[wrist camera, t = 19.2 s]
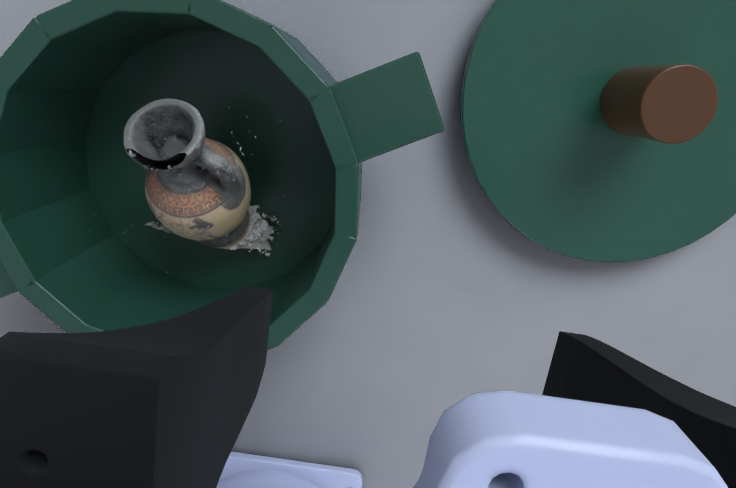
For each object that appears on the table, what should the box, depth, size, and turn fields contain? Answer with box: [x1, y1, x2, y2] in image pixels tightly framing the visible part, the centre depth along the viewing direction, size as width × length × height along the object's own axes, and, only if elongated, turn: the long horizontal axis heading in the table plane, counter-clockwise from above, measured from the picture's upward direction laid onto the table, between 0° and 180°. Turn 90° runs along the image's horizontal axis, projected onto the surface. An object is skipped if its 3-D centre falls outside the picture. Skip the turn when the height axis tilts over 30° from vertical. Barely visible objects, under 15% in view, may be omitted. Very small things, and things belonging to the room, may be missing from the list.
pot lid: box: [460, 0, 736, 262], centre depth 19 cm, size 12×12×4 cm
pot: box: [0, 0, 444, 350], centre depth 19 cm, size 11×17×6 cm
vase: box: [88, 99, 281, 273], centre depth 19 cm, size 5×5×6 cm
